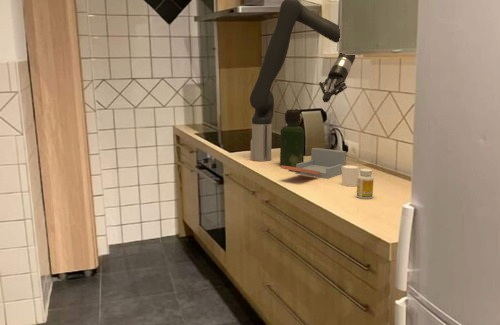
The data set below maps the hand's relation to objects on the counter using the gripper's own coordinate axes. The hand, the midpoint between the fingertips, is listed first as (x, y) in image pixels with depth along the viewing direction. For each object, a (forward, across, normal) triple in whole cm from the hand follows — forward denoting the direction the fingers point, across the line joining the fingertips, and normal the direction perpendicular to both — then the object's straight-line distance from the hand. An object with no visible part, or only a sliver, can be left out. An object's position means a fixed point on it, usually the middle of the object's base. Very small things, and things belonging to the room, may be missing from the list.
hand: (325, 100), depth 210 cm
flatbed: (+23, +1, +19) cm, 30 cm away
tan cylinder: (+31, +20, +11) cm, 39 cm away
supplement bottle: (+41, +32, +2) cm, 52 cm away
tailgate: (+28, +1, +12) cm, 30 cm away
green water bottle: (+20, -17, +23) cm, 35 cm away
